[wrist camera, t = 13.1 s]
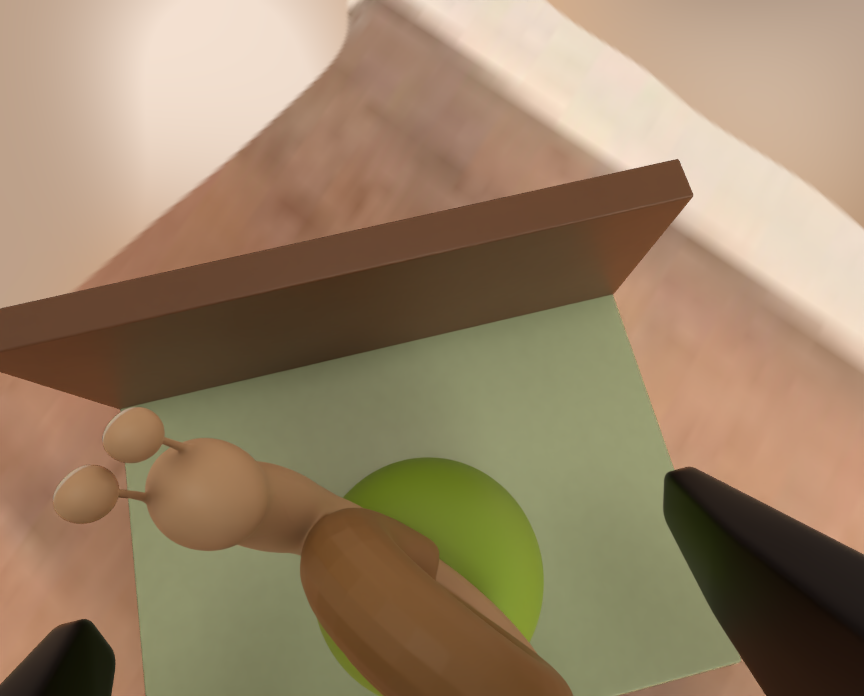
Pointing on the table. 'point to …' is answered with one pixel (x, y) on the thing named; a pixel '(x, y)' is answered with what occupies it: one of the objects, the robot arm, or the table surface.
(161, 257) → the table surface
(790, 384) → the table surface
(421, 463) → the snail figurine
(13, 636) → the table surface
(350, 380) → the bench with backrest
